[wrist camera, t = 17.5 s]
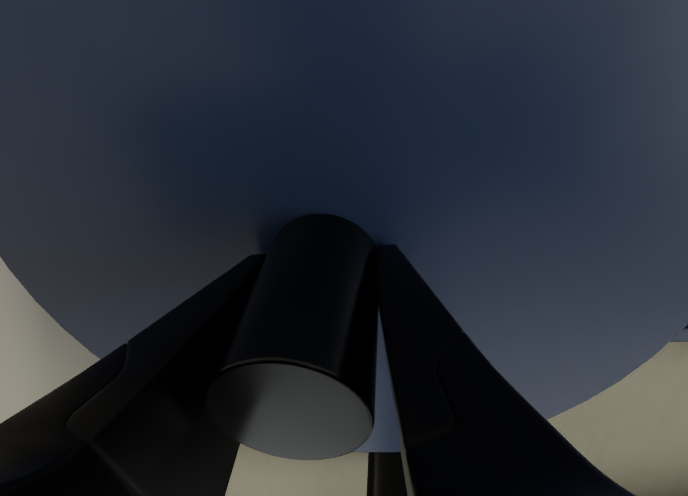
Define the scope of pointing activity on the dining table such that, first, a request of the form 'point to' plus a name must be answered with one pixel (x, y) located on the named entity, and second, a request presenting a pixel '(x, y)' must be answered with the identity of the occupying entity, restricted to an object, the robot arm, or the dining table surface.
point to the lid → (352, 188)
